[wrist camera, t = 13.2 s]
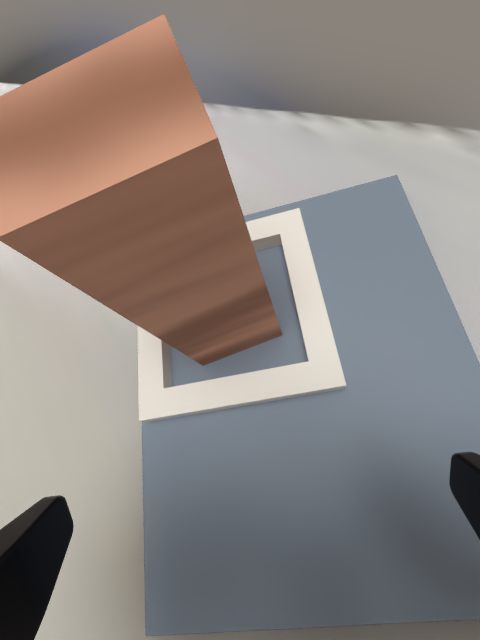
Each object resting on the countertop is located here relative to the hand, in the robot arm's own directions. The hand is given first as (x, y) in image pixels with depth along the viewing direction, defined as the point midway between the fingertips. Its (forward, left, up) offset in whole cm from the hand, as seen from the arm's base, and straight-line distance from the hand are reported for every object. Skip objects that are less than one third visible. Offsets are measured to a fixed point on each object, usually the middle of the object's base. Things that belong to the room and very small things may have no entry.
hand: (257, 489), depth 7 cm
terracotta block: (+8, +2, -9) cm, 13 cm away
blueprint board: (+4, -1, -10) cm, 11 cm away
